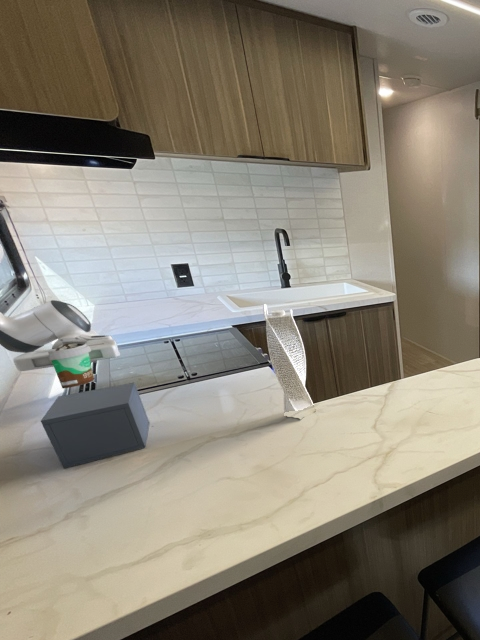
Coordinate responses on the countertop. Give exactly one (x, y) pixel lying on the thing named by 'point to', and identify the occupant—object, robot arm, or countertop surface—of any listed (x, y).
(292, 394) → the skyscraper
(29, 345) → the robot arm
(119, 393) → the cabinet
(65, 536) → the countertop surface
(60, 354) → the food container
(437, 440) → the countertop surface
